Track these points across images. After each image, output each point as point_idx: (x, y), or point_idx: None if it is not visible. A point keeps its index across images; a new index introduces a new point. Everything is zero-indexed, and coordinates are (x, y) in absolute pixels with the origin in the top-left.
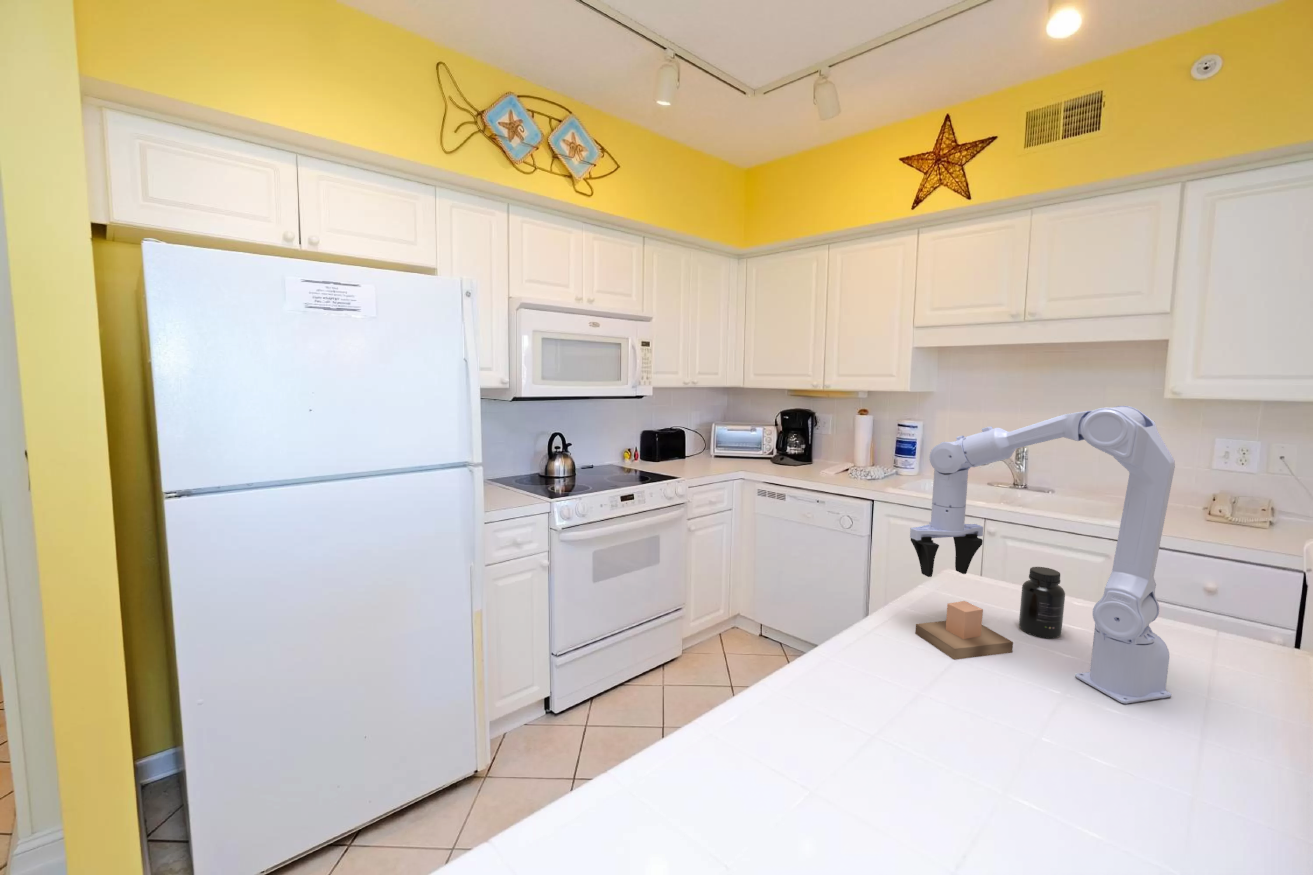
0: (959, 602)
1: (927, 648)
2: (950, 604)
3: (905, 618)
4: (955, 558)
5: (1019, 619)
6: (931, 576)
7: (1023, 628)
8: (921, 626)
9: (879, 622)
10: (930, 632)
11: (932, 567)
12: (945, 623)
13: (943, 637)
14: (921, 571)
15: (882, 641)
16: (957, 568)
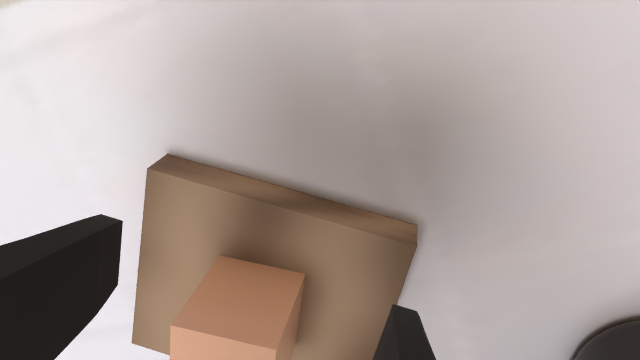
0: (234, 347)
1: (125, 243)
2: (174, 337)
3: (237, 34)
4: (397, 357)
5: (619, 346)
6: (114, 286)
7: (581, 354)
8: (151, 194)
9: (97, 10)
10: (146, 240)
11: (61, 341)
12: (266, 224)
13: (159, 285)
14: (88, 219)
15: (11, 138)
16: (387, 330)
